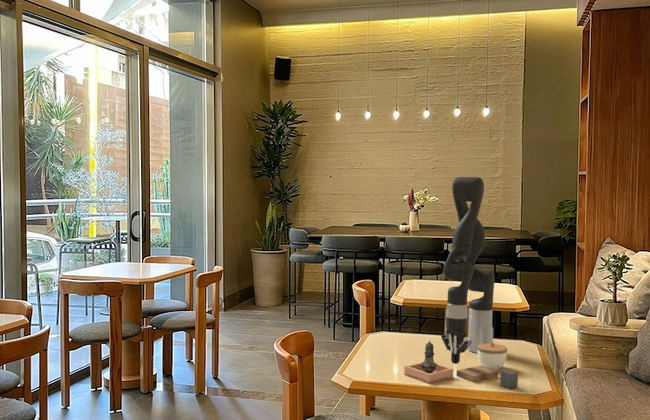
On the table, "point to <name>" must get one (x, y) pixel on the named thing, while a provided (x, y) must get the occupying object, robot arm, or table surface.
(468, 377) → the bronze block
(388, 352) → the table surface
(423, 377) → the tray
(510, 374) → the dark gray block
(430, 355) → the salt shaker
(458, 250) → the robot arm
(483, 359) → the lidded jar
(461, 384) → the table surface
